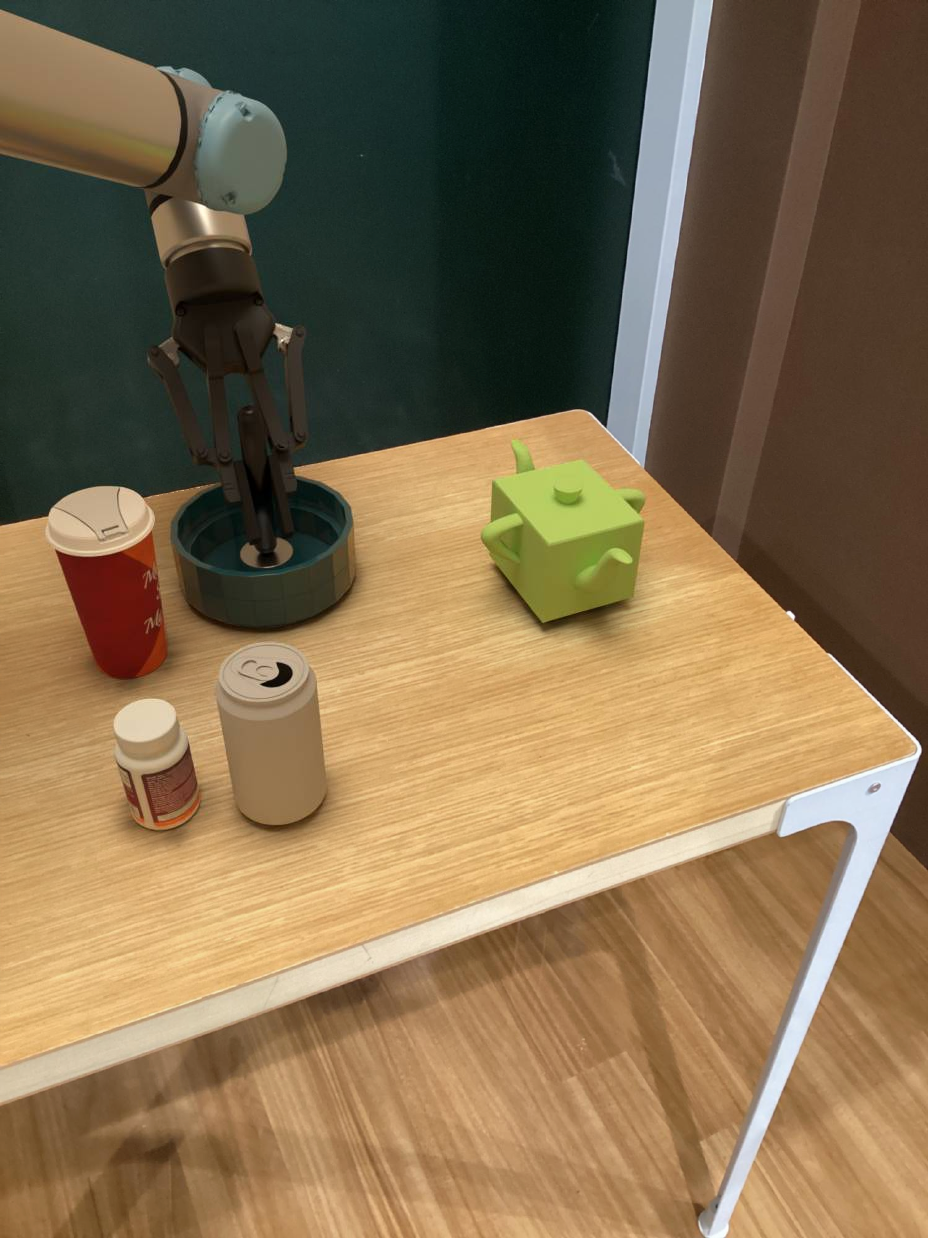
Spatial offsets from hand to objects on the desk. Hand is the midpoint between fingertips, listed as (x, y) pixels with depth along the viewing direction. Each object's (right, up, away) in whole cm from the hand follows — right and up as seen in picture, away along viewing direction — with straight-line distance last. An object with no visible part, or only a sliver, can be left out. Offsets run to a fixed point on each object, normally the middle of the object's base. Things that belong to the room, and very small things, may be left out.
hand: (271, 538), depth 87 cm
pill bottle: (-5, -20, -13) cm, 24 cm away
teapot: (+24, -4, +7) cm, 25 cm away
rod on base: (-1, -2, +7) cm, 7 cm away
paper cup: (-11, -10, -1) cm, 15 cm away
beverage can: (+3, -19, -12) cm, 23 cm away
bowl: (-1, -3, +7) cm, 8 cm away
